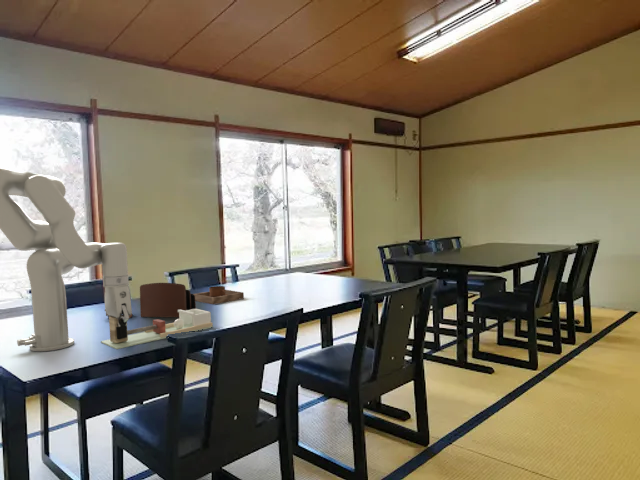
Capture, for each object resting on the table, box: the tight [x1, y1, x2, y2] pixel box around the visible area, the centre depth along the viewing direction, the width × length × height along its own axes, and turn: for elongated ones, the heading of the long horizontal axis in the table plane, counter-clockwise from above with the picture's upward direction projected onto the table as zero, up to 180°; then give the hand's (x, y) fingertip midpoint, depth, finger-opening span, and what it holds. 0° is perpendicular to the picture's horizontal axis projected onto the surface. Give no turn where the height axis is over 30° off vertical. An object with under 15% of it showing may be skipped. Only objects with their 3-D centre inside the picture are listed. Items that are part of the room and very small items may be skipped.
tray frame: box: [193, 289, 245, 305], centre depth 230 cm, size 17×17×3 cm
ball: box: [173, 318, 184, 329], centre depth 172 cm, size 4×4×4 cm
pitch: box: [100, 308, 214, 350], centre depth 167 cm, size 35×12×6 cm, turn 136°
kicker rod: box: [108, 315, 166, 343], centre depth 161 cm, size 17×5×8 cm, turn 136°
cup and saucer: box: [207, 285, 229, 297], centre depth 230 cm, size 12×12×6 cm
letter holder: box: [139, 282, 197, 318], centre depth 199 cm, size 10×20×14 cm, turn 81°
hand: (118, 336), depth 157 cm, fingers closed on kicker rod, 4 cm apart
